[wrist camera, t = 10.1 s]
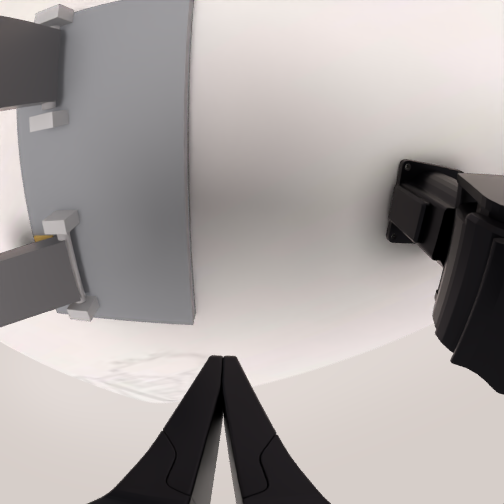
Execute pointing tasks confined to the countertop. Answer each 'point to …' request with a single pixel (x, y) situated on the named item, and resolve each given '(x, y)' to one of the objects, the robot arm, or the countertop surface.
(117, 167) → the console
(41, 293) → the switch
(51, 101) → the switch
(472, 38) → the countertop surface
